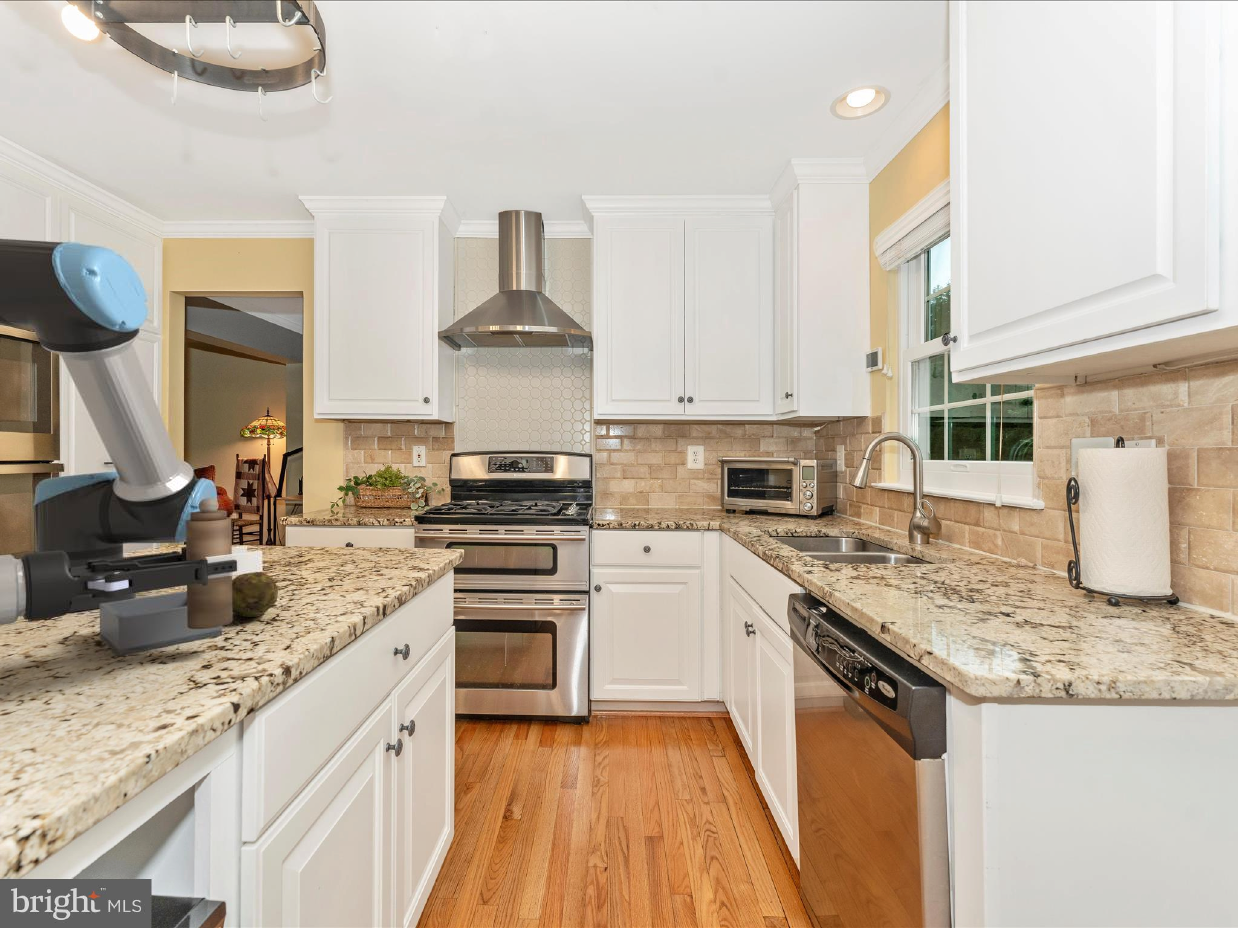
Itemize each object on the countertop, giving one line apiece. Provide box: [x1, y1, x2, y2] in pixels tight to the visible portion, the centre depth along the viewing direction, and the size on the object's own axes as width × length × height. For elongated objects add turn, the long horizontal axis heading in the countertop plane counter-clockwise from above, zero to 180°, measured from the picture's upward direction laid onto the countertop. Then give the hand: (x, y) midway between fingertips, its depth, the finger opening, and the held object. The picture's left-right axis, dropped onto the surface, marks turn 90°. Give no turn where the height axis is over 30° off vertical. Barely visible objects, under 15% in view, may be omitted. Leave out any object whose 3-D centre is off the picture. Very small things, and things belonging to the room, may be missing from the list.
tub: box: [99, 590, 223, 657], centre depth 88 cm, size 12×12×5 cm
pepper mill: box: [185, 498, 234, 629], centre depth 80 cm, size 5×5×17 cm
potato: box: [232, 571, 279, 618], centre depth 98 cm, size 8×13×8 cm, turn 31°
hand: (253, 558), depth 84 cm, fingers closed on pepper mill, 5 cm apart
